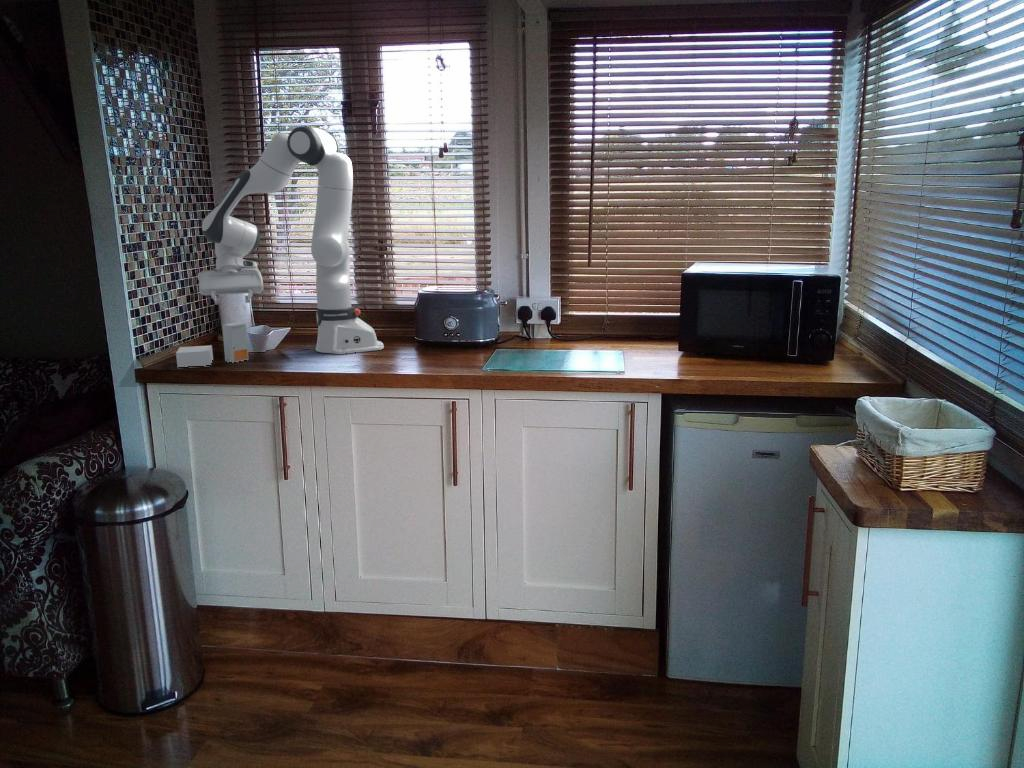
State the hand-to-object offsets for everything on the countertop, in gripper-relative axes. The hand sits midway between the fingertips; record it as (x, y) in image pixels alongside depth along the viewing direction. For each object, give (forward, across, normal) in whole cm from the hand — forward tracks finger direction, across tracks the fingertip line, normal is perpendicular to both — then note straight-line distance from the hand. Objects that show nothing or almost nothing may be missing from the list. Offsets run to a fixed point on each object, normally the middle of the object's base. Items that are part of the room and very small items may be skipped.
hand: (232, 302), depth 271 cm
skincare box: (+21, 0, +4) cm, 21 cm away
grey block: (+21, -12, +4) cm, 24 cm away
